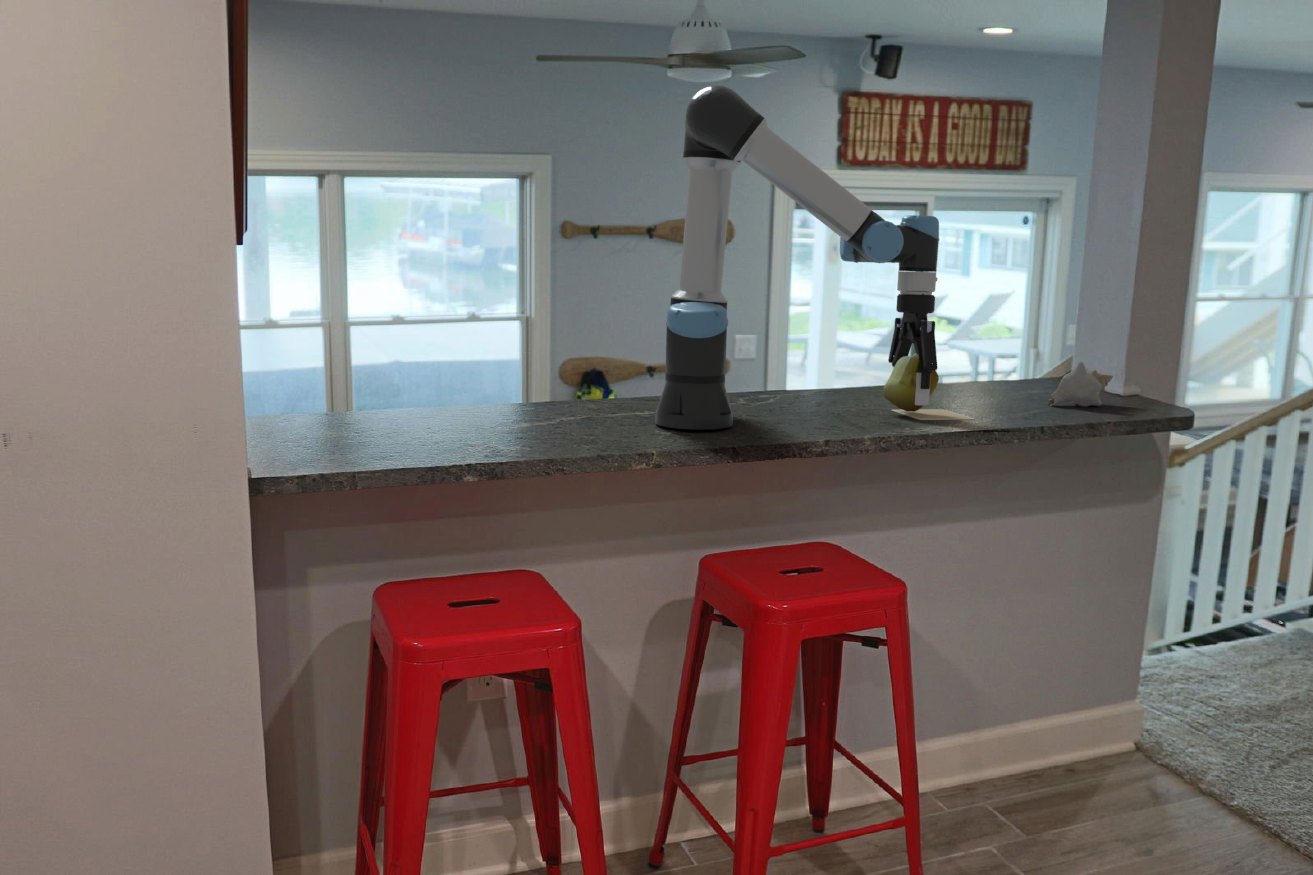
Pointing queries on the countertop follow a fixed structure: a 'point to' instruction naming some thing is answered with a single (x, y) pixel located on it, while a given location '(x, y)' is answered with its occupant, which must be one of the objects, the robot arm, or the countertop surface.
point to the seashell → (1081, 387)
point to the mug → (906, 383)
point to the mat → (933, 414)
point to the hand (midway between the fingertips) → (909, 401)
